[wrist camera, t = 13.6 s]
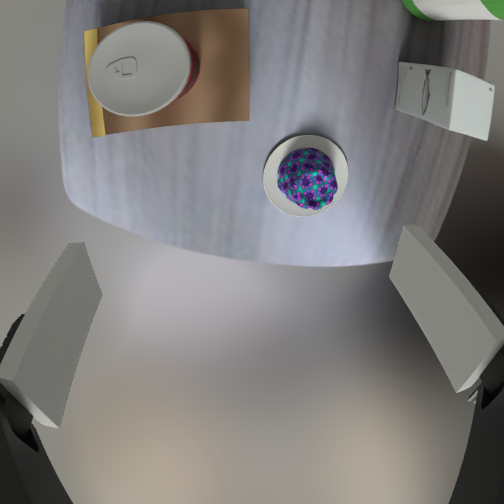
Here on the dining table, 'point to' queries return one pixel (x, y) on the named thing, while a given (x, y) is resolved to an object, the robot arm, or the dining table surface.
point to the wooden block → (209, 80)
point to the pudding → (305, 176)
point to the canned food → (142, 68)
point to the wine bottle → (455, 9)
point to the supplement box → (446, 98)
